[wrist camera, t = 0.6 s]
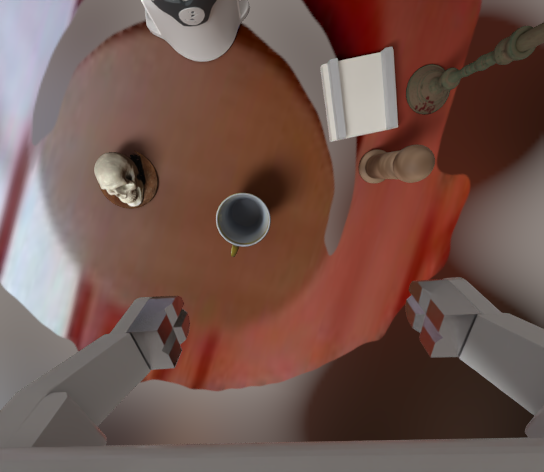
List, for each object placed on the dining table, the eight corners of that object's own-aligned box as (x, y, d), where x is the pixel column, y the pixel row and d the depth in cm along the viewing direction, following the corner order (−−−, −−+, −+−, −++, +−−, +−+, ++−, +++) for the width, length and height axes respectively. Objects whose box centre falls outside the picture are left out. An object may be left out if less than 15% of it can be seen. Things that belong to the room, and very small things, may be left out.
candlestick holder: (398, 107, 50) (596, 13, 21) (415, 59, 48) (662, -121, 19) (437, 120, 51) (676, 47, 22) (455, 73, 49) (746, -76, 20)
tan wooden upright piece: (356, 153, 52) (401, 144, 36) (388, 146, 52) (447, 134, 36) (360, 185, 53) (404, 190, 37) (390, 179, 53) (447, 181, 37)
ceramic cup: (230, 183, 52) (224, 185, 42) (274, 197, 53) (277, 202, 43) (215, 238, 54) (205, 252, 45) (256, 251, 56) (256, 267, 46)
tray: (320, 67, 47) (324, 60, 44) (389, 53, 47) (397, 45, 44) (329, 141, 51) (334, 139, 48) (394, 128, 51) (402, 125, 48)
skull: (167, 204, 51) (113, 215, 43) (145, 203, 57) (95, 213, 50) (153, 145, 48) (93, 145, 40) (131, 151, 54) (76, 152, 46)
